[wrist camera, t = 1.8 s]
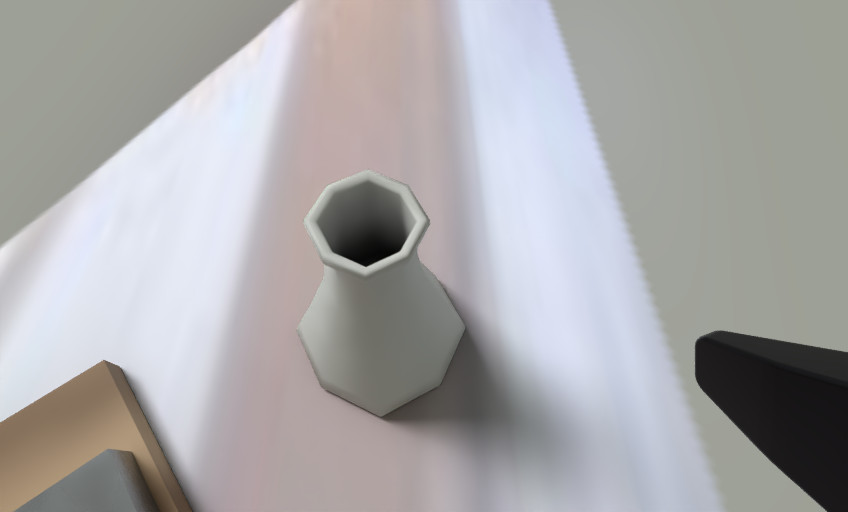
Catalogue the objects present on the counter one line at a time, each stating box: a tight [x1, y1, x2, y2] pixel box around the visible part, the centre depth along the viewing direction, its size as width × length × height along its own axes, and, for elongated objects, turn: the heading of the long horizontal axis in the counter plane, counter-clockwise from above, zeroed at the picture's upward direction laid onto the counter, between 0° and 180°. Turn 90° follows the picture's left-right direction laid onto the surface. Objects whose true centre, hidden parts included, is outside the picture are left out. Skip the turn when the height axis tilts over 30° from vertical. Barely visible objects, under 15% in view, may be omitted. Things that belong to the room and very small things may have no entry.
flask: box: [297, 169, 466, 417], centre depth 17 cm, size 7×7×10 cm
